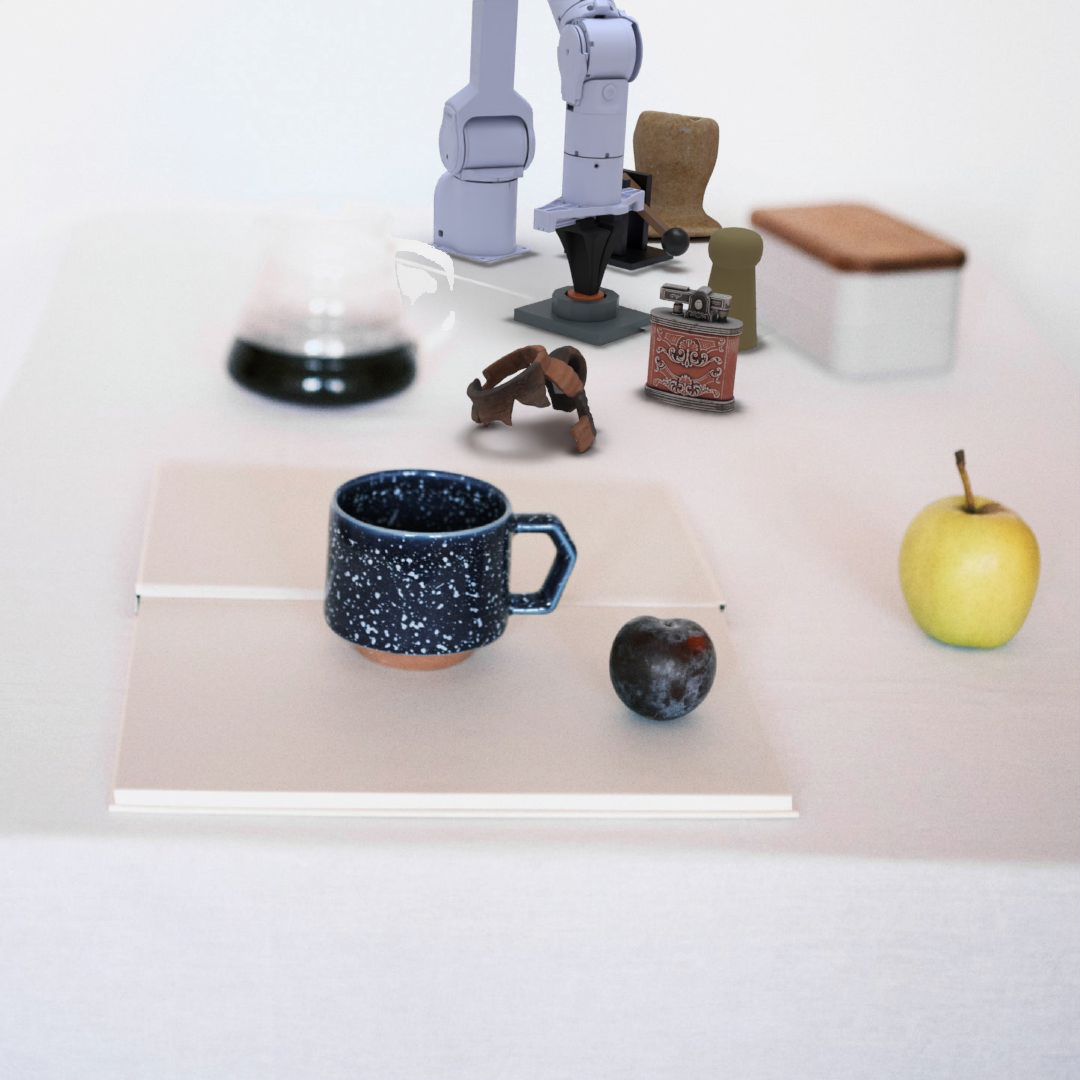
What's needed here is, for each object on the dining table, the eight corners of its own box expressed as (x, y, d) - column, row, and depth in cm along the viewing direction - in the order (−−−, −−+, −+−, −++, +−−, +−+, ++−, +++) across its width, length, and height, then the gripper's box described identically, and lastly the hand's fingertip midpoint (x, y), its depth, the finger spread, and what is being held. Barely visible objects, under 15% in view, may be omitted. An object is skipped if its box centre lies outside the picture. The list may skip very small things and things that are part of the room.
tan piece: (706, 223, 178) (717, 103, 171) (728, 247, 167) (741, 120, 160) (590, 222, 176) (597, 100, 169) (605, 246, 165) (613, 117, 158)
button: (559, 309, 137) (560, 291, 136) (582, 302, 139) (583, 285, 138) (587, 317, 135) (588, 300, 134) (610, 310, 137) (611, 292, 136)
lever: (686, 259, 156) (700, 237, 154) (669, 264, 154) (683, 242, 151) (617, 191, 159) (629, 169, 157) (600, 195, 157) (612, 172, 155)
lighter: (738, 402, 119) (751, 290, 115) (726, 415, 116) (739, 300, 112) (652, 386, 122) (660, 275, 118) (638, 397, 119) (646, 284, 115)
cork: (737, 356, 130) (749, 240, 126) (683, 341, 134) (693, 229, 129) (768, 341, 135) (781, 229, 130) (715, 328, 138) (726, 218, 133)
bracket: (673, 262, 160) (680, 176, 156) (631, 274, 155) (637, 186, 150) (606, 245, 166) (611, 162, 161) (563, 256, 160) (567, 171, 156)
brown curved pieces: (579, 474, 105) (527, 385, 102) (486, 495, 111) (434, 412, 108) (636, 390, 113) (590, 305, 110) (547, 414, 119) (500, 334, 116)
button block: (513, 320, 138) (514, 290, 136) (571, 302, 144) (572, 274, 143) (598, 346, 131) (600, 316, 130) (655, 327, 138) (657, 297, 136)
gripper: (577, 169, 123) (569, 316, 129) (673, 150, 133) (662, 287, 139) (518, 156, 127) (514, 299, 133) (616, 139, 137) (607, 273, 143)
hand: (586, 292), depth 136 cm, fingers closed, pressing on button
